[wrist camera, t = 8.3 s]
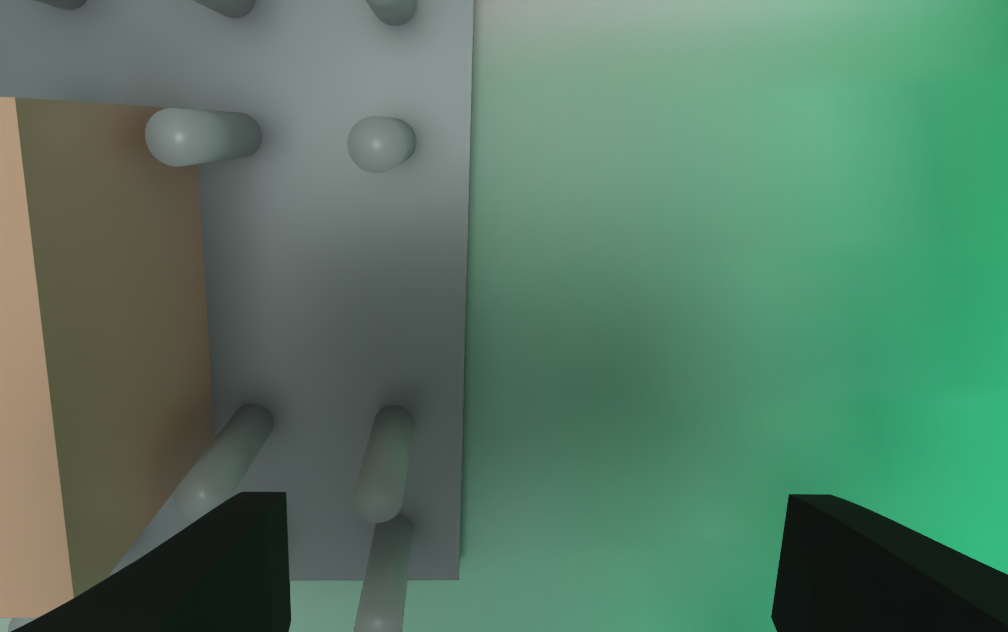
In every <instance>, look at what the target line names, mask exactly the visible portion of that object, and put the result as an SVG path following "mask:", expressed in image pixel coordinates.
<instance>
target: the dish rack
mask: <svg viewBox="0 0 1008 632" xmlns="http://www.w3.org/2000/svg"><path fill="white" fill-rule="evenodd" d="M473 7H474V0H0V97H15V98H30V99H45V100H61V101H76V102H91V103H106V104H121V105H136V106H151V107H166V108H167V109H163V110H160V111H158V112H156V113H155V114H154V115H153V116H152V117H151V118H150V119H149V121H148V123H147V125H146V129H145V140H146V144H147V146H148V148H149V150H150V152H151V153H152V155H153V156H154V157H155V158H156V159H158V160H159V161H160V162H162V163H164V164H166V165H169V166H175V167H180V166H187V165H194V164H198V177H199V193H200V210H201V226H202V242H203V259H204V275H205V291H206V307H207V324H208V340H209V356H210V373H211V389H212V405H213V422H214V438H215V439H214V440H213V441H212V443H211V444H210V445H209V447H208V448H207V449H206V450H205V452H204V453H203V454H202V456H201V457H200V458H199V459H198V461H197V462H196V463H195V465H194V466H193V467H192V468H191V470H190V471H189V472H188V474H187V475H186V476H185V477H184V479H183V480H182V481H181V483H180V484H179V485H178V486H177V488H176V490H175V491H174V492H173V493H172V495H171V496H170V497H169V499H168V500H167V501H166V502H165V504H164V505H163V506H162V508H161V509H160V510H159V511H158V513H157V514H156V515H155V517H154V518H153V519H152V520H151V522H150V523H149V524H148V526H147V527H146V528H145V529H144V531H143V532H142V533H141V535H140V536H139V537H138V538H137V540H136V541H135V542H134V544H133V545H132V546H131V547H130V549H129V550H128V551H127V553H126V554H125V555H124V556H123V558H122V559H121V560H120V562H119V563H118V564H117V565H116V567H115V568H114V569H113V571H112V572H111V573H110V574H109V576H108V577H110V576H111V575H113V574H115V573H116V572H118V571H119V570H121V569H123V568H124V567H126V566H128V565H129V564H131V563H133V562H134V561H136V560H138V559H139V558H141V557H142V556H144V555H145V554H147V553H148V552H150V551H151V550H153V549H154V548H156V547H157V546H159V545H160V544H162V543H163V542H165V541H166V540H168V539H169V538H171V537H172V536H174V535H175V534H177V533H178V532H180V531H181V530H183V529H184V528H186V527H187V526H189V525H190V524H192V523H193V522H195V521H196V520H198V519H199V518H201V517H202V516H204V515H205V514H207V513H208V512H209V511H211V510H212V509H214V508H215V507H217V506H218V505H220V504H222V503H223V502H225V501H226V500H228V499H229V498H231V497H233V496H234V495H236V494H238V493H240V492H286V500H287V526H288V553H289V579H290V580H364V583H363V587H362V592H361V597H360V602H359V607H358V612H357V616H356V621H355V626H354V632H402V624H403V615H404V606H405V597H406V588H407V580H459V559H460V520H461V480H462V441H463V402H464V362H465V323H466V283H467V244H468V204H469V165H470V125H471V86H472V47H473ZM179 108H182V109H179ZM108 577H107V578H108ZM35 619H37V618H13V619H12V620H11V621H10V624H9V629H8V630H9V632H11V631H13V630H15V629H17V628H19V627H21V626H23V625H25V624H27V623H29V622H31V621H33V620H35Z"/></svg>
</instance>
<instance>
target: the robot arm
mask: <svg viewBox="0 0 1008 632" xmlns="http://www.w3.org/2000/svg"><path fill="white" fill-rule="evenodd" d="M771 618H772V620H773V623H774V625H775V627H776V630H777V632H1008V575H1007V574H1005V573H1003V572H1001V571H998V570H996V569H994V568H992V567H990V566H988V565H985V564H983V563H981V562H979V561H977V560H975V559H972V558H970V557H968V556H966V555H964V554H962V553H960V552H958V551H956V550H953V549H951V548H949V547H947V546H945V545H943V544H941V543H939V542H937V541H935V540H932V539H930V538H928V537H926V536H924V535H922V534H920V533H918V532H916V531H914V530H912V529H910V528H907V527H905V526H903V525H901V524H899V523H897V522H895V521H893V520H891V519H888V518H886V517H884V516H882V515H880V514H878V513H875V512H873V511H871V510H869V509H866V508H864V507H862V506H860V505H857V504H855V503H852V502H850V501H847V500H844V499H842V498H839V497H836V496H833V495H806V494H789V498H788V505H787V512H786V519H785V526H784V533H783V540H782V547H781V554H780V560H779V567H778V574H777V581H776V588H775V595H774V602H773V609H772V616H771ZM290 623H291V605H290V579H289V553H288V526H287V500H286V492H240V493H238V494H236V495H234V496H233V497H231V498H229V499H228V500H226V501H225V502H223V503H222V504H220V505H218V506H217V507H215V508H214V509H212V510H211V511H209V512H208V513H207V514H205V515H204V516H202V517H201V518H199V519H198V520H196V521H195V522H193V523H192V524H190V525H189V526H187V527H186V528H184V529H183V530H181V531H180V532H178V533H177V534H175V535H174V536H172V537H171V538H169V539H168V540H166V541H165V542H163V543H162V544H160V545H159V546H157V547H156V548H154V549H153V550H151V551H150V552H148V553H147V554H145V555H144V556H142V557H141V558H139V559H138V560H136V561H134V562H133V563H131V564H129V565H128V566H126V567H124V568H123V569H121V570H119V571H118V572H116V573H115V574H113V575H111V576H110V577H108V578H106V579H105V580H103V581H101V582H100V583H98V584H96V585H95V586H93V587H91V588H90V589H88V590H86V591H85V592H83V593H81V594H80V595H78V596H77V597H75V598H73V599H71V600H70V601H68V602H66V603H64V604H62V605H61V606H59V607H57V608H55V609H53V610H52V611H50V612H48V613H46V614H44V615H42V616H40V617H38V618H37V619H35V620H33V621H31V622H29V623H27V624H25V625H23V626H21V627H19V628H17V629H15V630H13V631H11V632H289V627H290Z"/></svg>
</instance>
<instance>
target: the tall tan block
mask: <svg viewBox="0 0 1008 632" xmlns="http://www.w3.org/2000/svg"><path fill="white" fill-rule="evenodd" d="M163 109H167V108H166V107H151V106H136V105H121V104H106V103H91V102H76V101H61V100H45V99H30V98H15V97H0V618H38V617H40V616H42V615H44V614H46V613H48V612H50V611H52V610H53V609H55V608H57V607H59V606H61V605H62V604H64V603H66V602H68V601H70V600H71V599H73V598H75V597H77V596H78V595H80V594H81V593H83V592H85V591H86V590H88V589H90V588H91V587H93V586H95V585H96V584H98V583H100V582H101V581H103V580H105V579H106V578H107V577H108V576H109V574H110V573H111V572H112V571H113V569H114V568H115V567H116V565H117V564H118V563H119V562H120V560H121V559H122V558H123V556H124V555H125V554H126V553H127V551H128V550H129V549H130V547H131V546H132V545H133V544H134V542H135V541H136V540H137V538H138V537H139V536H140V535H141V533H142V532H143V531H144V529H145V528H146V527H147V526H148V524H149V523H150V522H151V520H152V519H153V518H154V517H155V515H156V514H157V513H158V511H159V510H160V509H161V508H162V506H163V505H164V504H165V502H166V501H167V500H168V499H169V497H170V496H171V495H172V493H173V492H174V491H175V490H176V488H177V486H178V485H179V484H180V483H181V481H182V480H183V479H184V477H185V476H186V475H187V474H188V472H189V471H190V470H191V468H192V467H193V466H194V465H195V463H196V462H197V461H198V459H199V458H200V457H201V456H202V454H203V453H204V452H205V450H206V449H207V448H208V447H209V445H210V444H211V443H212V441H213V440H214V439H215V438H214V422H213V405H212V389H211V373H210V356H209V340H208V324H207V307H206V291H205V275H204V259H203V242H202V226H201V210H200V193H199V177H198V164H194V165H187V166H180V167H175V166H169V165H166V164H164V163H162V162H160V161H159V160H158V159H156V158H155V157H154V156H153V155H152V153H151V152H150V150H149V148H148V146H147V144H146V140H145V129H146V125H147V123H148V121H149V119H150V118H151V117H152V116H153V115H154V114H155V113H156V112H158V111H160V110H163ZM179 109H182V108H179Z"/></svg>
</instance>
